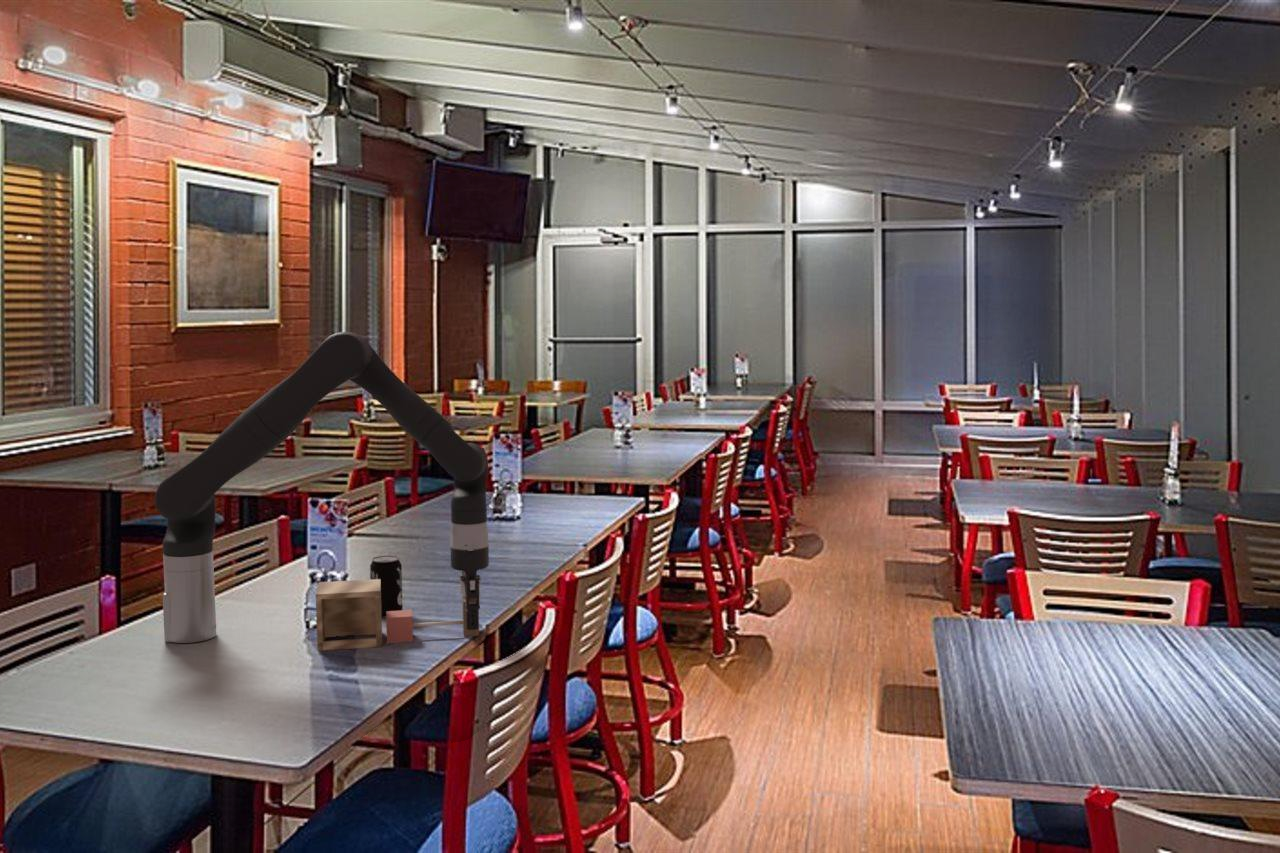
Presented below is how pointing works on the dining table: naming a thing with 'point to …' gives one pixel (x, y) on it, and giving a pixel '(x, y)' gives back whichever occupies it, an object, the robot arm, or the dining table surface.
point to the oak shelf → (348, 613)
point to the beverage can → (388, 581)
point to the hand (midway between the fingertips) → (471, 623)
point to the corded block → (418, 625)
